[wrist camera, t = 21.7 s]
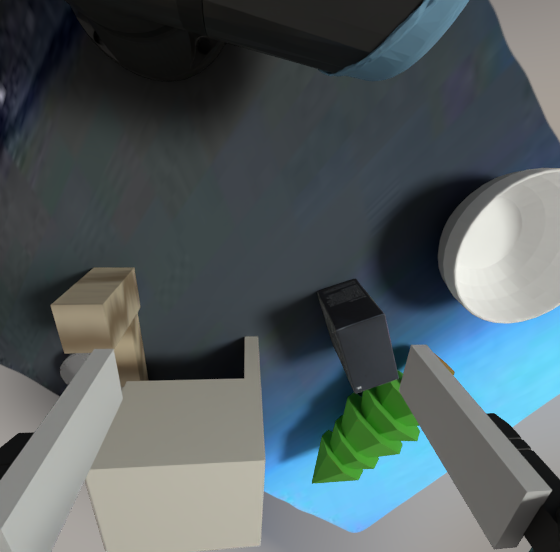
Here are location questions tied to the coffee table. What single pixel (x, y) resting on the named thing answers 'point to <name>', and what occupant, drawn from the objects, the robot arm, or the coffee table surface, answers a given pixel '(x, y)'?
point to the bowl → (505, 247)
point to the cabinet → (183, 465)
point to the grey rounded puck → (72, 365)
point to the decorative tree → (366, 433)
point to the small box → (358, 335)
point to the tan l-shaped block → (104, 319)
